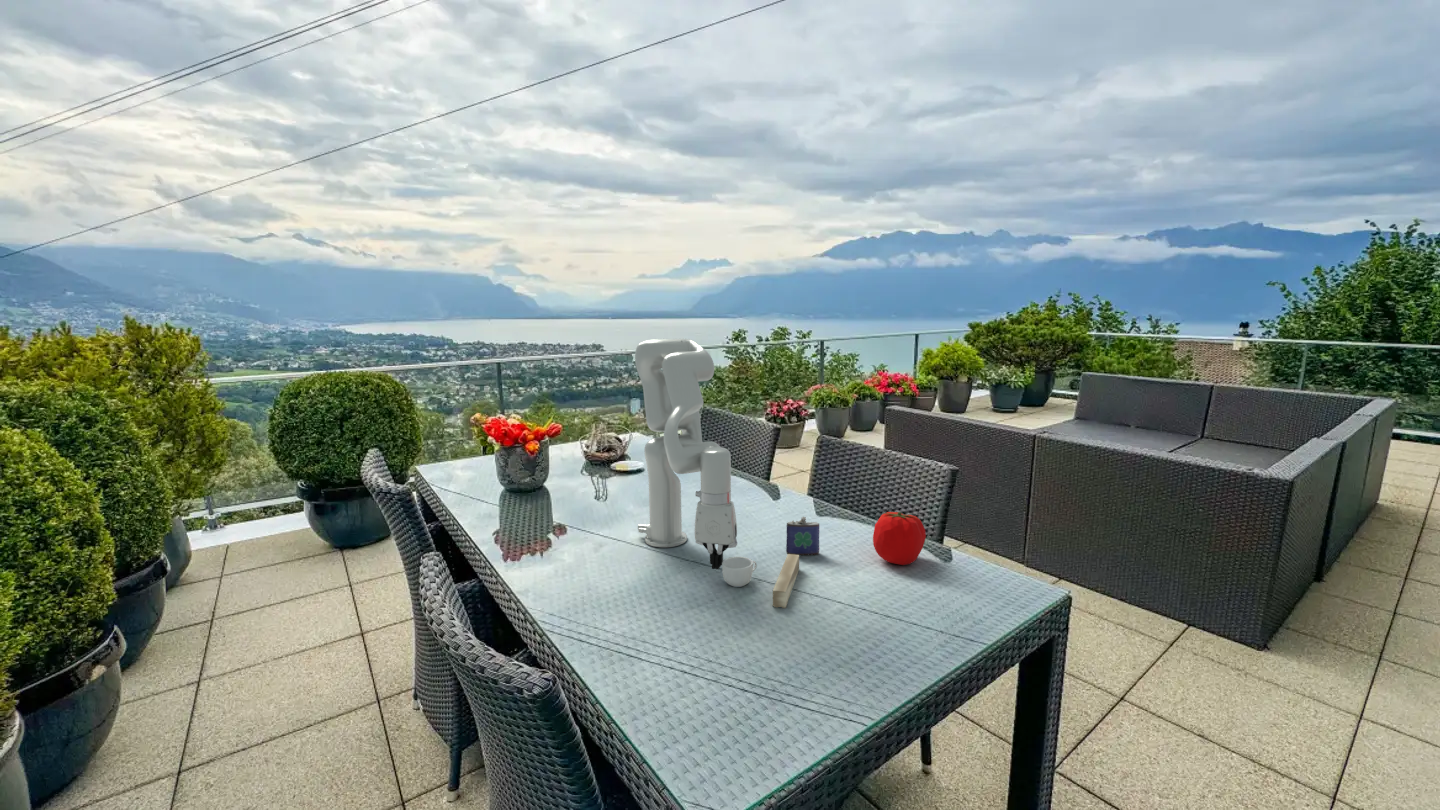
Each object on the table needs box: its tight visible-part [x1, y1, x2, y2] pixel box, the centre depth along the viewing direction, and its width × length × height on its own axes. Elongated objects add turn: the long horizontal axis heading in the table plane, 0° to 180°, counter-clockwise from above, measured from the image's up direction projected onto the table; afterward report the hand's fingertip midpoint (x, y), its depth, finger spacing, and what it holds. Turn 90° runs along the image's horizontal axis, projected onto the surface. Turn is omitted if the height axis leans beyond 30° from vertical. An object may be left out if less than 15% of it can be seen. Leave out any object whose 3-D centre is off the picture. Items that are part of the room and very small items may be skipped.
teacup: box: [721, 556, 758, 588], centre depth 146 cm, size 10×8×5 cm
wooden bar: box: [772, 554, 800, 609], centre depth 143 cm, size 3×22×4 cm, turn 164°
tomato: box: [872, 511, 927, 566], centre depth 158 cm, size 16×14×14 cm
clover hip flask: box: [785, 516, 820, 556], centre depth 164 cm, size 9×3×11 cm, turn 88°
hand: (716, 567), depth 148 cm, fingers closed
